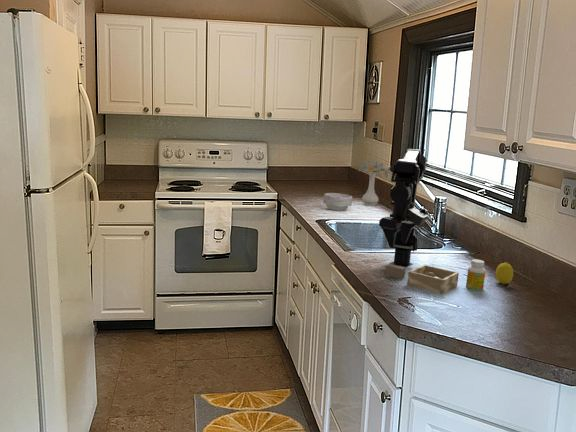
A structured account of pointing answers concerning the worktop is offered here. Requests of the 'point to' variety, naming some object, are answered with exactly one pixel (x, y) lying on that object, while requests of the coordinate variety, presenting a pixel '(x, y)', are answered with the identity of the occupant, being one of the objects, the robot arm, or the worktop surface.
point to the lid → (395, 271)
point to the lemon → (504, 273)
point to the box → (432, 279)
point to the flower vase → (372, 181)
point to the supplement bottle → (476, 275)
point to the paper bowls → (337, 201)
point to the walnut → (431, 274)
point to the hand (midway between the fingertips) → (397, 245)
